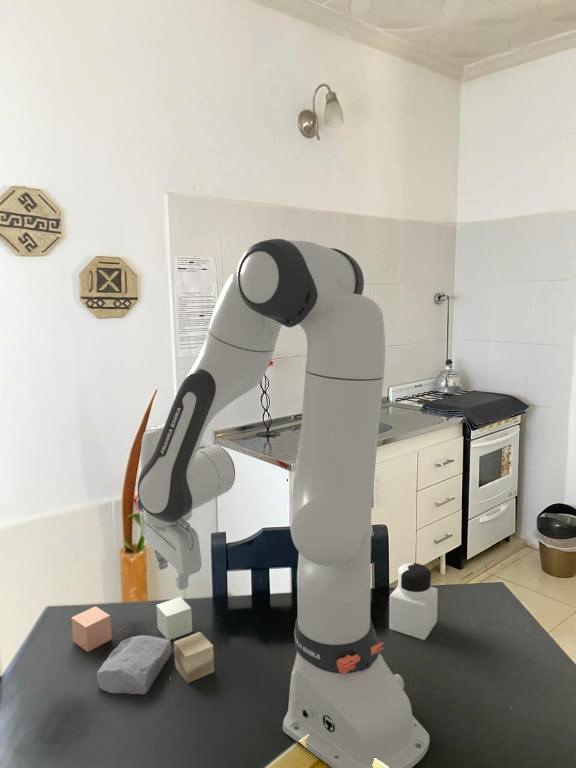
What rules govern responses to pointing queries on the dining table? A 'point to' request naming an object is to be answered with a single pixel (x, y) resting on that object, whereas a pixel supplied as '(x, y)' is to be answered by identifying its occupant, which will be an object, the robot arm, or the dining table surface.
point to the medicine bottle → (413, 602)
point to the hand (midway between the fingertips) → (171, 577)
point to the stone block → (134, 665)
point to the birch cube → (194, 657)
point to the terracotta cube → (91, 628)
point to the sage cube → (174, 618)
